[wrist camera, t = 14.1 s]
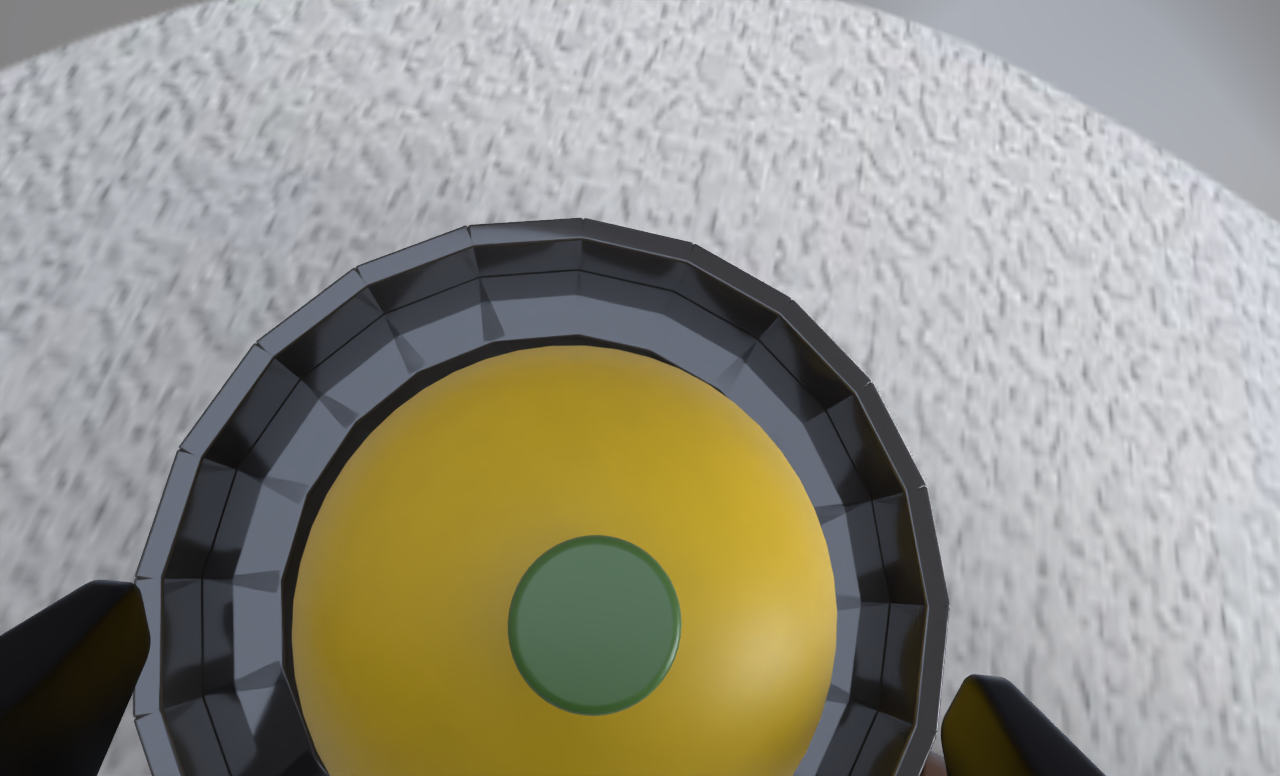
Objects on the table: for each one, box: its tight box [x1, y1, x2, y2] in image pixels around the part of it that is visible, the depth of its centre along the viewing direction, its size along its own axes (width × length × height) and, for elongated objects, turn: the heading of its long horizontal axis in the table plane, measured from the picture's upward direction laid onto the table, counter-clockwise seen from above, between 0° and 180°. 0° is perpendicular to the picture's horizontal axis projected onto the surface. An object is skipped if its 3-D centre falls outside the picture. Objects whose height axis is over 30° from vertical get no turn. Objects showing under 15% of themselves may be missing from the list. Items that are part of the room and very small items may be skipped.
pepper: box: [292, 346, 837, 776], centre depth 12 cm, size 6×6×14 cm
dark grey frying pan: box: [133, 218, 949, 776], centre depth 17 cm, size 15×15×4 cm
